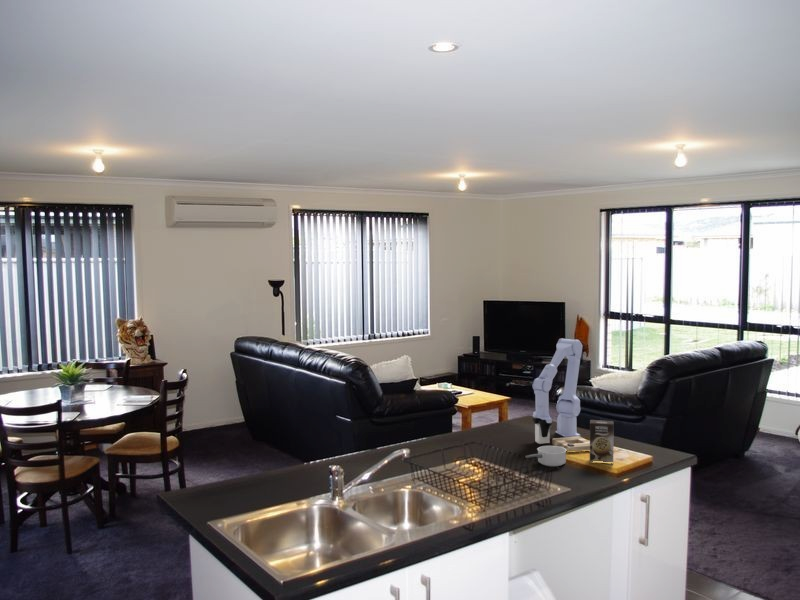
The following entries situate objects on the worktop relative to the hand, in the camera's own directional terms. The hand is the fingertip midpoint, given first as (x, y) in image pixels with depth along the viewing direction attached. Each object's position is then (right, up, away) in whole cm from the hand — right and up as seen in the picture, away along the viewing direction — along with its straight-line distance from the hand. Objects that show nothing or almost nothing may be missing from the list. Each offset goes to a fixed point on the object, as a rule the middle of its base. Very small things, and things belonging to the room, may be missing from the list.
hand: (542, 435), depth 298 cm
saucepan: (-6, -5, -33) cm, 34 cm away
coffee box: (+17, -4, -31) cm, 35 cm away
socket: (+12, -3, -9) cm, 15 cm away
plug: (0, -3, 0) cm, 3 cm away
